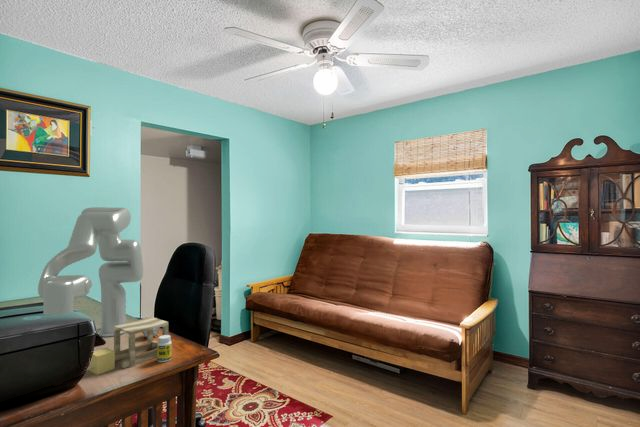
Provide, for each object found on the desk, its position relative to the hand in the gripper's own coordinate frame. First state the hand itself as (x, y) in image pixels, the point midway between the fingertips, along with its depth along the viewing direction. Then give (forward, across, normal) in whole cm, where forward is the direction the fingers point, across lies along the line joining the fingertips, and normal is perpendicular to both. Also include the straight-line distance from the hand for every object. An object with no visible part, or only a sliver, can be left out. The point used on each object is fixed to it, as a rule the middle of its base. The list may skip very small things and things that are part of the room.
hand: (58, 375), depth 107 cm
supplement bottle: (+3, +10, +29) cm, 31 cm away
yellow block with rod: (+3, 0, +7) cm, 7 cm away
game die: (+3, -17, +39) cm, 42 cm away
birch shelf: (+3, 0, +26) cm, 26 cm away
